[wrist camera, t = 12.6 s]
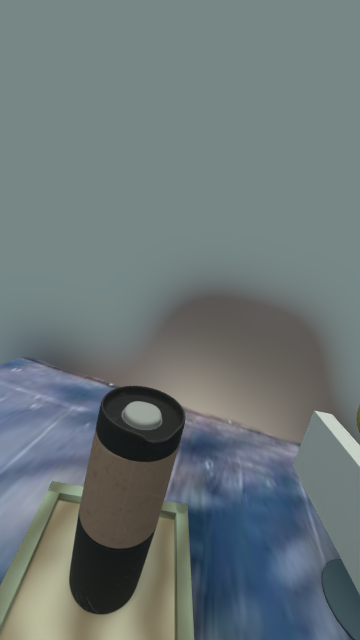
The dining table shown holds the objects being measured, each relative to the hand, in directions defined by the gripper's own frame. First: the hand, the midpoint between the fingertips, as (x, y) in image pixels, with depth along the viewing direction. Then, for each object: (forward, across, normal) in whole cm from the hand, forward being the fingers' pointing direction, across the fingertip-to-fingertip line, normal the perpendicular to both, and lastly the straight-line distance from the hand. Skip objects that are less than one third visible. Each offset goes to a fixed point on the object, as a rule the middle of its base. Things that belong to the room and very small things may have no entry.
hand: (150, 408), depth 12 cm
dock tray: (+13, 0, -30) cm, 32 cm away
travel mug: (+13, 0, -28) cm, 31 cm away
